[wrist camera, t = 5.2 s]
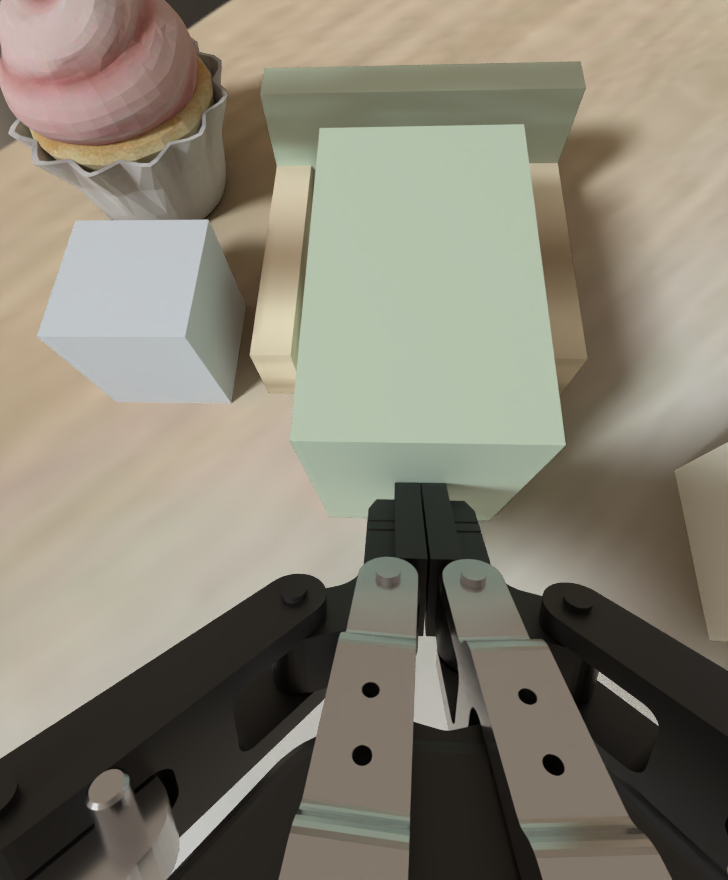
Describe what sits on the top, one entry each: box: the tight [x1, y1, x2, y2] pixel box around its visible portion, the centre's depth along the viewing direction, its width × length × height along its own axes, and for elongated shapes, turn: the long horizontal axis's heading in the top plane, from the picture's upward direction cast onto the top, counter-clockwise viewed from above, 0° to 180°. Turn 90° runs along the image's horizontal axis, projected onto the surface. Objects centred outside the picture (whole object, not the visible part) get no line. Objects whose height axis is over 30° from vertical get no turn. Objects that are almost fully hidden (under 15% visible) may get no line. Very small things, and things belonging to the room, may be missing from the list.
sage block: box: [290, 124, 566, 520], centre depth 16 cm, size 10×6×8 cm, turn 178°
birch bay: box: [250, 62, 588, 396], centre depth 19 cm, size 11×12×6 cm
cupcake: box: [0, 0, 228, 220], centre depth 20 cm, size 9×9×10 cm
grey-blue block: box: [37, 220, 246, 403], centre depth 19 cm, size 5×5×5 cm
